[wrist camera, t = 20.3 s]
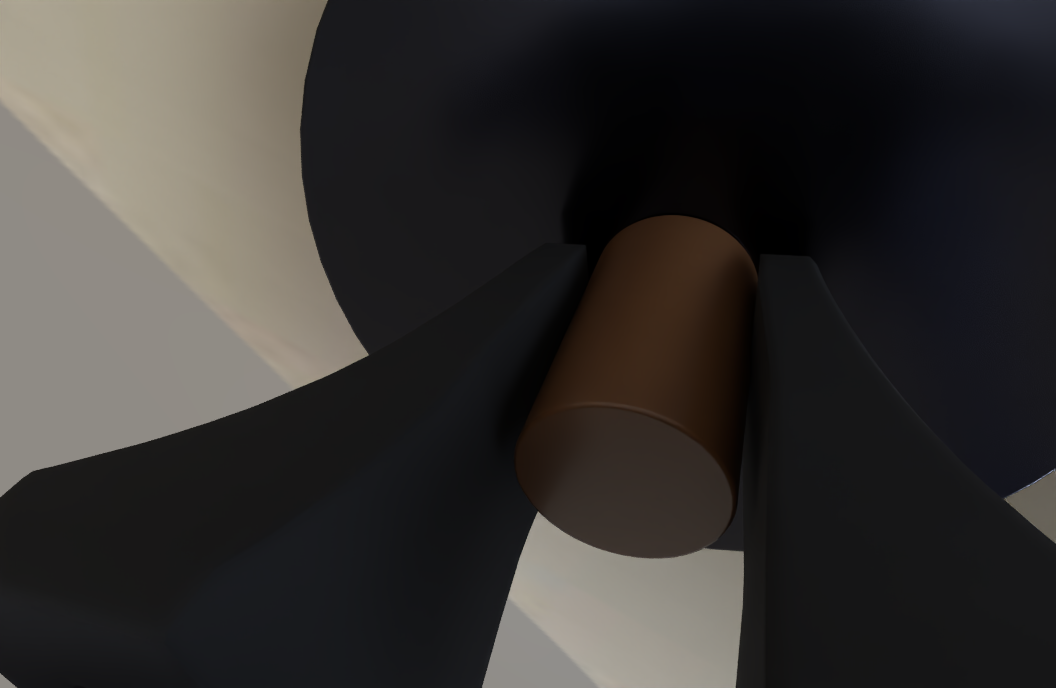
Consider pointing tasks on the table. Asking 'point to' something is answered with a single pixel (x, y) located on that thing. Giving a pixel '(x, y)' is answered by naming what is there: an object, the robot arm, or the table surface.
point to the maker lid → (701, 217)
